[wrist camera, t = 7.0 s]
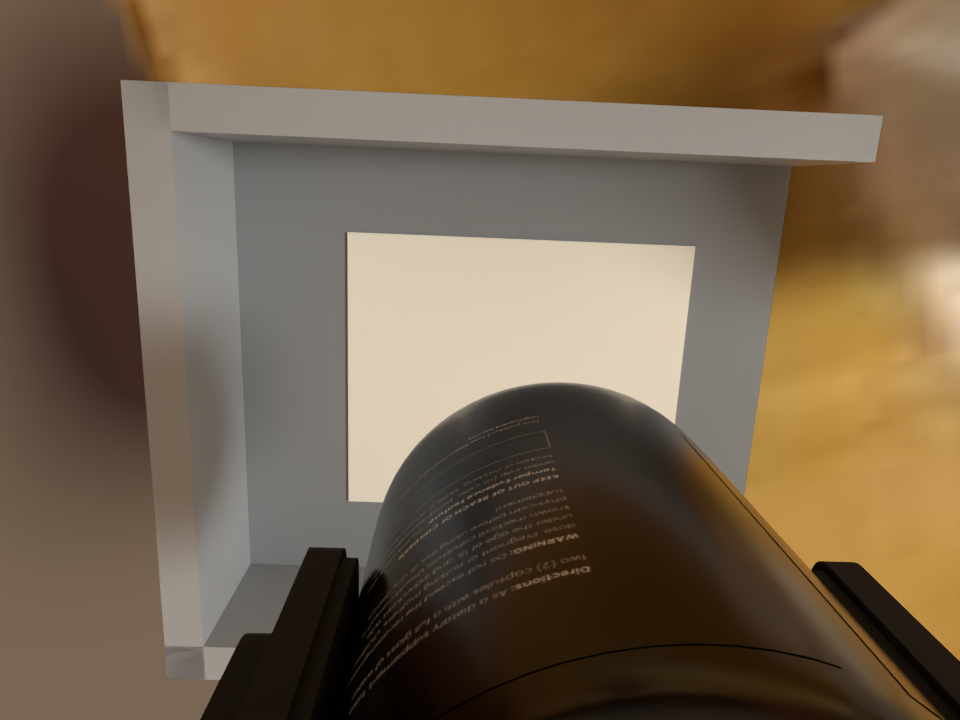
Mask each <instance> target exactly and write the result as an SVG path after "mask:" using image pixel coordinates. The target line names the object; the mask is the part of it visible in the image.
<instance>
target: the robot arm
mask: <svg viewBox="0 0 960 720" xmlns="http://www.w3.org/2000/svg"><path fill="white" fill-rule="evenodd" d="M811 571H812V572H813V573H814V574H815V576H816V577H817V578H818V579H819V580H820V581H821V582H822V583H823V584H824V585H825V587H826V588H827V589H828V590H829V591H830V592H831V593H832V594H833V595H834V597H835V598H836V599H837V600H838V601H839V602H840V603H841V604H842V605H843V606H844V608H845V609H846V610H847V611H848V612H849V613H850V614H851V615H852V616H853V618H854V619H855V620H856V621H857V622H858V623H859V624H860V625H861V626H862V627H863V629H864V630H865V631H866V632H867V633H868V634H869V635H870V636H871V637H872V639H873V640H874V641H875V642H876V643H877V644H878V645H879V646H880V647H881V648H882V650H883V651H884V652H885V653H886V654H887V655H888V656H889V657H890V658H891V660H892V661H893V662H894V663H895V664H896V665H897V666H898V667H899V668H900V670H901V671H902V672H903V673H904V674H905V675H906V676H907V677H908V678H909V679H910V681H911V682H912V683H913V684H914V685H915V686H916V687H917V688H918V689H919V691H920V692H921V693H922V694H923V695H924V696H925V697H926V698H927V699H928V701H929V702H930V703H931V704H932V705H933V706H934V707H935V708H936V709H937V711H938V712H939V713H940V714H941V715H942V716H943V717H944V718H945V719H946V720H960V661H959V660H958V659H956V658H955V657H954V656H953V655H952V654H951V653H950V652H949V651H948V650H947V649H946V648H945V647H944V646H943V645H942V644H941V643H940V642H939V641H938V640H937V639H936V638H935V637H934V636H933V635H932V634H931V633H930V632H929V631H928V630H927V629H926V628H925V627H924V626H922V625H921V624H920V623H919V622H918V621H917V620H916V619H915V618H914V617H913V616H912V615H911V614H910V613H909V612H908V611H907V610H906V609H905V608H904V607H903V606H902V605H901V604H900V603H899V602H898V601H897V600H896V599H895V598H894V597H893V596H892V595H891V594H890V593H888V592H887V591H886V590H885V589H884V588H883V587H882V586H881V585H880V584H879V583H878V582H877V581H876V580H875V579H874V578H873V577H872V576H871V575H870V574H869V573H868V572H867V571H866V570H865V569H864V568H863V567H862V566H860V565H859V564H857V563H854V562H824V561H819V562H817V563H815V565H814V566H813V568H812V570H811ZM358 600H359V560H358V558H348V557H347V554H346V549H345V548H327V547H309V549H308V550H307V553H306V555H305V557H304V559H303V562H302V564H301V566H300V569H299V571H298V573H297V576H296V578H295V580H294V583H293V585H292V587H291V590H290V592H289V594H288V597H287V599H286V601H285V604H284V606H283V608H282V611H281V613H280V615H279V618H278V620H277V622H276V624H275V627H274V629H273V631H272V633H246V634H244V635H243V636H242V638H241V639H240V641H239V643H238V645H237V647H236V649H235V651H234V653H233V655H232V657H231V659H230V661H229V663H228V665H227V667H226V669H225V671H224V673H223V675H222V677H221V679H220V681H219V683H218V685H217V687H216V689H215V691H214V693H213V695H212V697H211V699H210V701H209V703H208V705H207V707H206V709H205V711H204V713H203V716H202V718H201V719H200V720H331V717H332V713H333V708H334V704H335V700H336V695H337V691H338V687H339V682H340V678H341V673H342V669H343V665H344V660H345V656H346V652H347V647H348V643H349V639H350V634H351V630H352V626H353V621H354V617H355V613H356V608H357V604H358Z"/></svg>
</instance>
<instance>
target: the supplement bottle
mask: <svg viewBox="0 0 960 720" xmlns="http://www.w3.org/2000/svg"><path fill="white" fill-rule="evenodd" d="M331 720H946V719H945V718H944V717H943V716H942V715H941V714H940V713H939V712H938V711H937V709H936V708H935V707H934V706H933V705H932V704H931V703H930V702H929V701H928V699H927V698H926V697H925V696H924V695H923V694H922V693H921V692H920V691H919V689H918V688H917V687H916V686H915V685H914V684H913V683H912V682H911V681H910V679H909V678H908V677H907V676H906V675H905V674H904V673H903V672H902V671H901V670H900V668H899V667H898V666H897V665H896V664H895V663H894V662H893V661H892V660H891V658H890V657H889V656H888V655H887V654H886V653H885V652H884V651H883V650H882V648H881V647H880V646H879V645H878V644H877V643H876V642H875V641H874V640H873V639H872V637H871V636H870V635H869V634H868V633H867V632H866V631H865V630H864V629H863V627H862V626H861V625H860V624H859V623H858V622H857V621H856V620H855V619H854V618H853V616H852V615H851V614H850V613H849V612H848V611H847V610H846V609H845V608H844V606H843V605H842V604H841V603H840V602H839V601H838V600H837V599H836V598H835V597H834V595H833V594H832V593H831V592H830V591H829V590H828V589H827V588H826V587H825V585H824V584H823V583H822V582H821V581H820V580H819V579H818V578H817V577H816V576H815V574H814V573H813V572H812V571H811V570H810V569H809V568H808V567H807V566H806V564H805V563H804V562H803V561H802V560H801V559H800V558H799V557H798V556H797V555H796V553H795V552H794V551H793V550H792V549H791V548H790V547H789V546H788V545H787V543H786V542H785V541H784V540H783V539H782V538H781V537H780V536H779V535H778V534H777V532H776V531H775V530H774V529H773V528H772V527H771V526H770V525H769V524H768V522H767V521H766V520H765V519H764V518H763V517H762V516H761V515H760V514H759V513H758V511H757V510H756V509H755V508H754V507H753V506H752V505H751V504H750V503H749V501H748V500H747V499H746V498H745V497H744V496H743V495H742V494H741V493H740V492H739V490H738V489H737V488H736V487H735V486H734V485H733V484H732V483H731V482H730V480H729V479H728V478H727V477H726V476H725V475H724V474H723V473H722V472H721V471H720V469H719V468H718V467H717V466H716V465H715V464H714V463H713V462H712V461H711V459H710V458H709V457H708V456H707V455H706V454H705V453H704V452H703V451H702V450H701V449H700V448H699V447H698V446H697V445H696V444H695V443H694V442H693V441H692V440H691V439H690V438H689V437H688V436H687V435H686V434H685V433H684V432H683V431H682V430H681V429H680V428H679V427H678V426H676V425H675V424H674V423H672V422H671V421H670V420H668V419H667V418H666V417H665V416H663V415H662V414H661V413H659V412H658V411H656V410H654V409H653V408H651V407H649V406H648V405H646V404H644V403H642V402H640V401H638V400H636V399H634V398H632V397H630V396H627V395H624V394H622V393H619V392H616V391H613V390H610V389H605V388H601V387H597V386H592V385H586V384H579V383H562V382H553V383H537V384H530V385H523V386H518V387H514V388H510V389H506V390H502V391H499V392H496V393H494V394H491V395H488V396H485V397H483V398H481V399H479V400H476V401H474V402H472V403H470V404H468V405H467V406H465V407H463V408H461V409H460V410H458V411H456V412H454V413H453V414H452V415H450V416H449V417H447V418H446V419H444V420H443V421H442V422H440V423H439V424H438V425H437V426H436V427H434V428H433V429H432V430H431V431H430V432H429V433H427V434H426V435H425V436H424V438H423V439H422V440H421V441H420V442H419V443H418V444H417V445H416V446H415V447H414V448H413V450H412V451H411V452H410V453H409V455H408V456H407V457H406V459H405V460H404V461H403V463H402V465H401V466H400V468H399V469H398V471H397V473H396V474H395V476H394V478H393V480H392V482H391V484H390V486H389V489H388V491H387V493H386V496H385V498H384V501H383V504H382V507H381V509H380V513H379V517H378V520H377V524H376V528H375V531H374V535H373V539H372V543H371V547H370V551H369V556H368V560H367V564H366V569H365V573H364V577H363V582H362V586H361V591H360V595H359V600H358V604H357V608H356V613H355V617H354V621H353V626H352V630H351V634H350V639H349V643H348V647H347V652H346V656H345V660H344V665H343V669H342V673H341V678H340V682H339V687H338V691H337V695H336V700H335V704H334V708H333V713H332V717H331Z"/></svg>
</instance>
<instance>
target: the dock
mask: <svg viewBox="0 0 960 720" xmlns="http://www.w3.org/2000/svg"><path fill="white" fill-rule="evenodd" d="M121 92H122V105H123V117H124V131H125V143H126V156H127V169H128V182H129V194H130V208H131V220H132V233H133V246H134V259H135V272H136V284H137V295H138V296H137V297H138V309H139V323H140V335H141V348H142V359H143V360H142V361H143V374H144V386H145V399H146V410H147V411H146V412H147V425H148V437H149V449H150V463H151V475H152V488H153V501H154V514H155V527H156V540H157V552H158V565H159V578H160V591H161V603H162V616H163V628H164V641H165V653H166V667H167V678H168V679H206V680H207V679H208V680H220V679H221V677H222V675H223V673H224V671H225V669H226V667H227V665H228V663H229V661H230V659H231V657H232V655H233V653H234V651H235V649H236V647H237V645H238V643H239V641H240V639H241V638H242V636H243V635H244V634H246V633H272V631H273V629H274V627H275V624H276V622H277V620H278V618H279V615H280V613H281V611H282V608H283V606H284V604H285V601H286V599H287V597H288V594H289V592H290V590H291V587H292V585H293V583H294V580H295V578H296V576H297V573H298V571H299V569H300V566H301V564H302V562H303V559H304V557H305V555H306V553H307V550H308V549H309V547H327V548H345V549H346V554H347V557H348V558H358V560H359V595H360V591H361V586H362V582H363V577H364V573H365V569H366V564H367V560H368V556H369V551H370V547H371V543H372V539H373V535H374V531H375V528H376V524H377V520H378V517H379V513H380V509H381V507H382V504H383V501H384V498H385V496H386V493H387V491H388V489H389V486H390V484H391V482H392V480H393V478H394V476H395V474H396V473H397V471H398V469H399V468H400V466H401V465H402V463H403V461H404V460H405V459H406V457H407V456H408V455H409V453H410V452H411V451H412V450H413V448H414V447H415V446H416V445H417V444H418V443H419V442H420V441H421V440H422V439H423V438H424V436H425V435H426V434H427V433H429V432H430V431H431V430H432V429H433V428H434V427H436V426H437V425H438V424H439V423H440V422H442V421H443V420H444V419H446V418H447V417H449V416H450V415H452V414H453V413H454V412H456V411H458V410H460V409H461V408H463V407H465V406H467V405H468V404H470V403H472V402H474V401H476V400H479V399H481V398H483V397H485V396H488V395H491V394H494V393H496V392H499V391H502V390H506V389H510V388H514V387H518V386H523V385H530V384H537V383H553V382H562V383H579V384H586V385H592V386H597V387H601V388H605V389H610V390H613V391H616V392H619V393H622V394H624V395H627V396H630V397H632V398H634V399H636V400H638V401H640V402H642V403H644V404H646V405H648V406H649V407H651V408H653V409H654V410H656V411H658V412H659V413H661V414H662V415H663V416H665V417H666V418H667V419H668V420H670V421H671V422H672V423H674V424H675V425H676V426H678V427H679V428H680V429H681V430H682V431H683V432H684V433H685V434H686V435H687V436H688V437H689V438H690V439H691V440H692V441H693V442H694V443H695V444H696V445H697V446H698V447H699V448H700V449H701V450H702V451H703V452H704V453H705V454H706V455H707V456H708V457H709V458H710V459H711V461H712V462H713V463H714V464H715V465H716V466H717V467H718V468H719V469H720V471H721V472H722V473H723V474H724V475H725V476H726V477H727V478H728V479H729V480H730V482H731V483H732V484H733V485H734V486H735V487H736V488H737V489H738V490H739V492H740V493H741V494H742V495H743V496H744V492H745V485H746V479H747V472H748V465H749V458H750V451H751V444H752V437H753V430H754V424H755V417H756V410H757V403H758V396H759V389H760V382H761V376H762V369H763V362H764V355H765V348H766V341H767V334H768V327H769V321H770V314H771V307H772V300H773V293H774V286H775V279H776V273H777V266H778V259H779V252H780V245H781V238H782V231H783V224H784V218H785V211H786V204H787V197H788V190H789V183H790V176H791V170H792V167H793V166H813V165H833V164H854V163H874V162H875V160H876V155H877V149H878V143H879V137H880V132H881V126H882V120H883V116H882V115H861V114H839V113H818V112H796V111H775V110H754V109H732V108H711V107H689V106H668V105H647V104H625V103H604V102H582V101H561V100H539V99H518V98H497V97H475V96H454V95H432V94H411V93H390V92H368V91H347V90H325V89H304V88H283V87H261V86H240V85H218V84H197V83H175V82H154V81H133V80H121Z"/></svg>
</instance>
